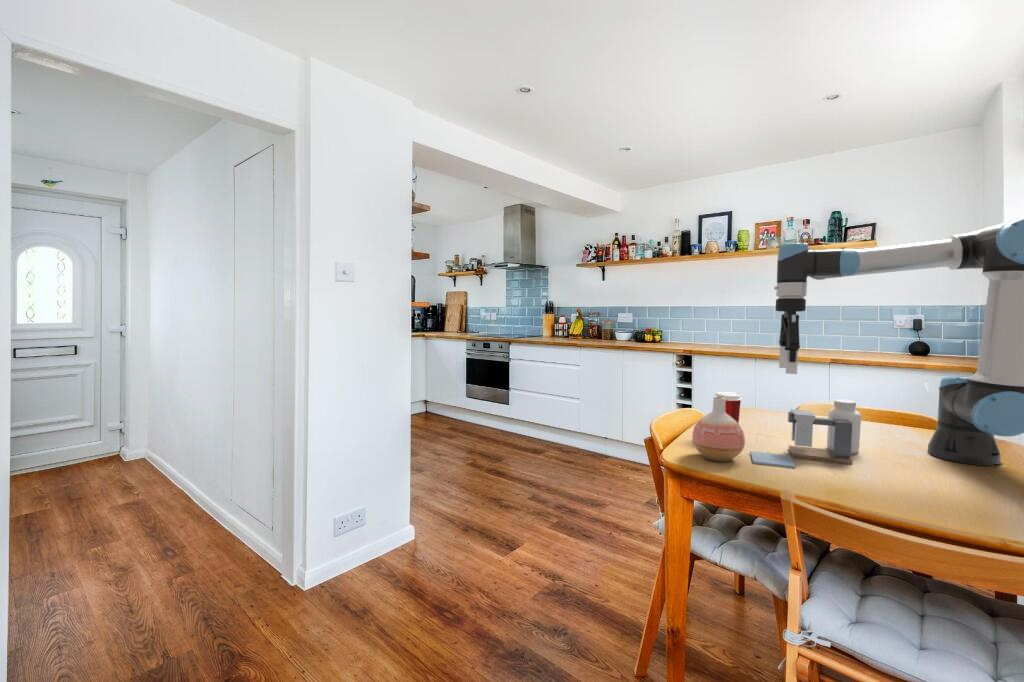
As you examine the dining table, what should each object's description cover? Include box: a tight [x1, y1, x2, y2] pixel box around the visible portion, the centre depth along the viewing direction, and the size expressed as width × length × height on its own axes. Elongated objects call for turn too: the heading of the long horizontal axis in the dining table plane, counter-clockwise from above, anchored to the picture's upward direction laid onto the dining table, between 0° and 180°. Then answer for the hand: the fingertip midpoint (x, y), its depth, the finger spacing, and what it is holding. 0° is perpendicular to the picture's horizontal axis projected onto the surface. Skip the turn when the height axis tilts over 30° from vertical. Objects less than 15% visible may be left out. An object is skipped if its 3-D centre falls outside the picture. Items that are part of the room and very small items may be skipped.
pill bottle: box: [826, 398, 862, 455], centre depth 142 cm, size 8×8×15 cm
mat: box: [749, 450, 796, 469], centre depth 133 cm, size 10×10×1 cm
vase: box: [691, 395, 746, 463], centre depth 134 cm, size 14×14×18 cm
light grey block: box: [790, 408, 816, 448], centre depth 138 cm, size 5×7×9 cm
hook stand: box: [787, 411, 853, 465], centre depth 136 cm, size 15×9×12 cm, turn 68°
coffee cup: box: [713, 391, 743, 425], centre depth 153 cm, size 8×8×15 cm
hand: (787, 370), depth 139 cm, fingers open, 13 cm apart
